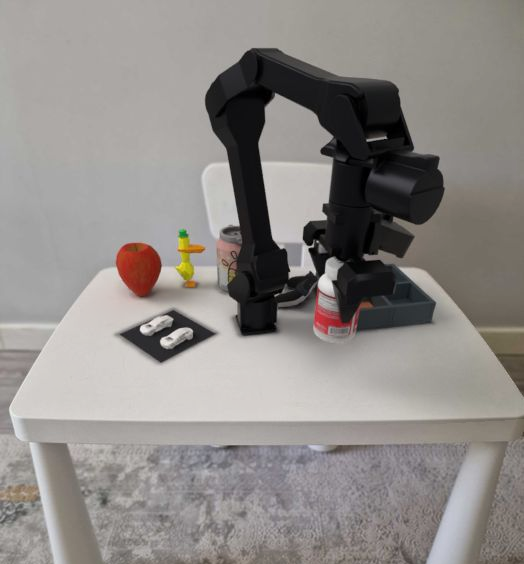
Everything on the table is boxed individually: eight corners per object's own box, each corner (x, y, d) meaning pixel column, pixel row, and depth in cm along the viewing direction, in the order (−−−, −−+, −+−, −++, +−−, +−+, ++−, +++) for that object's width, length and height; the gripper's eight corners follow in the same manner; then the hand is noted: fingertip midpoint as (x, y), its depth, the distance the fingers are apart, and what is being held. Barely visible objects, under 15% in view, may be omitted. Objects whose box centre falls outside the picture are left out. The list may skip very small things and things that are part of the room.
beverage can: (255, 274, 101) (256, 221, 94) (265, 292, 94) (267, 236, 87) (214, 279, 99) (211, 225, 92) (222, 297, 92) (220, 240, 85)
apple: (167, 284, 96) (161, 235, 90) (161, 304, 89) (154, 252, 83) (126, 284, 96) (118, 235, 90) (117, 304, 89) (107, 252, 83)
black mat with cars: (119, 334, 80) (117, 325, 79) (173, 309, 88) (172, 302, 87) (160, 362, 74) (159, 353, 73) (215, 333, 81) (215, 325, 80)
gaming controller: (281, 319, 89) (308, 303, 85) (267, 302, 89) (293, 284, 84) (299, 295, 98) (323, 279, 93) (286, 279, 97) (310, 262, 92)
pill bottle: (333, 317, 70) (342, 249, 63) (363, 335, 66) (377, 265, 60) (303, 330, 67) (310, 261, 60) (334, 350, 63) (344, 278, 56)
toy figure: (208, 281, 98) (205, 227, 91) (206, 289, 95) (203, 234, 88) (176, 281, 98) (171, 226, 91) (174, 288, 95) (168, 233, 88)
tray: (344, 332, 82) (347, 311, 80) (314, 288, 96) (316, 269, 94) (431, 322, 86) (436, 302, 83) (389, 281, 99) (393, 263, 97)
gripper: (453, 223, 49) (421, 341, 58) (381, 177, 64) (364, 277, 73) (357, 229, 47) (339, 351, 56) (305, 180, 62) (298, 283, 71)
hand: (337, 311), depth 64 cm, fingers closed on pill bottle, 6 cm apart
